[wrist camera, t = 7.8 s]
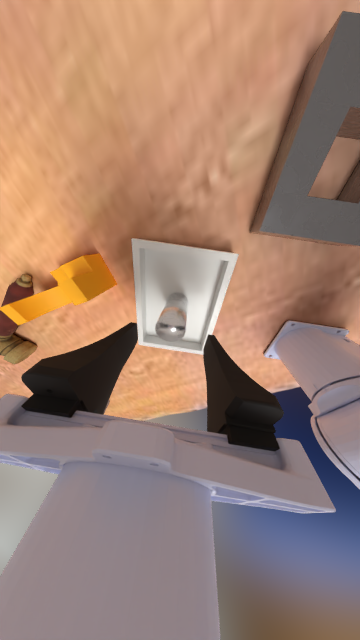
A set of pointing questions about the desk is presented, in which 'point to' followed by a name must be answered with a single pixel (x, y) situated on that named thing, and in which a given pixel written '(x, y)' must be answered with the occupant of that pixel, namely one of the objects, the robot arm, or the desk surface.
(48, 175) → the desk surface
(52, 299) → the pipe clamp
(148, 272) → the tray
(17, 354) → the gavel
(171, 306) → the pin
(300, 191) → the socket block
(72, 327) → the desk surface
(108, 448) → the robot arm
